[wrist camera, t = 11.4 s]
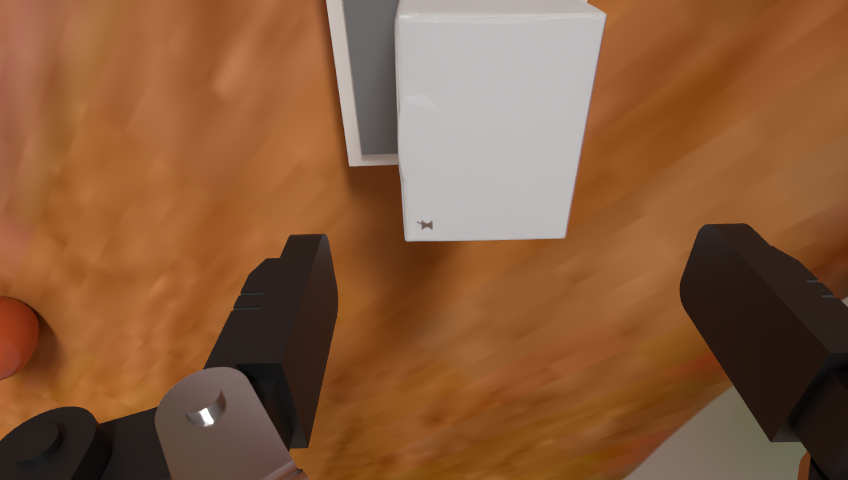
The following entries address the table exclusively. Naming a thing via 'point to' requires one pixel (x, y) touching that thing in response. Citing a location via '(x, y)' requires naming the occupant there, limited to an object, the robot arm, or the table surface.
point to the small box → (492, 114)
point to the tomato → (16, 336)
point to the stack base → (366, 77)
